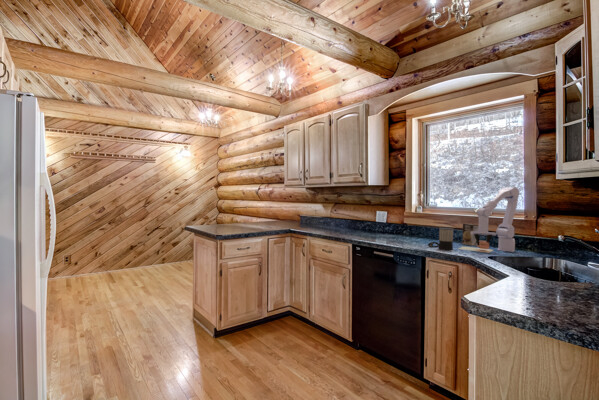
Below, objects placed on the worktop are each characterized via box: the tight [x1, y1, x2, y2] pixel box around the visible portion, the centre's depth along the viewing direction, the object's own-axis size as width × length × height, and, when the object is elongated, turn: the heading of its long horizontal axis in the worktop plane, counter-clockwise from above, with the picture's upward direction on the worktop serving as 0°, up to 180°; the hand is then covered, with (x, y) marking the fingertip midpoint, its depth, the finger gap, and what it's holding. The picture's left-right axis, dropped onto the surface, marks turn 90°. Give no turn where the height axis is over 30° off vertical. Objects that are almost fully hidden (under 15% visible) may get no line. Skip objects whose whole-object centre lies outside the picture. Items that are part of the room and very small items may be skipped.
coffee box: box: [461, 223, 479, 247], centre depth 232 cm, size 9×6×16 cm
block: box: [476, 240, 490, 249], centre depth 207 cm, size 9×5×4 cm, turn 163°
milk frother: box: [427, 227, 454, 251], centre depth 215 cm, size 14×16×15 cm
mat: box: [458, 246, 494, 254], centre depth 211 cm, size 19×15×1 cm
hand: (482, 245), depth 207 cm, fingers closed on block, 5 cm apart
